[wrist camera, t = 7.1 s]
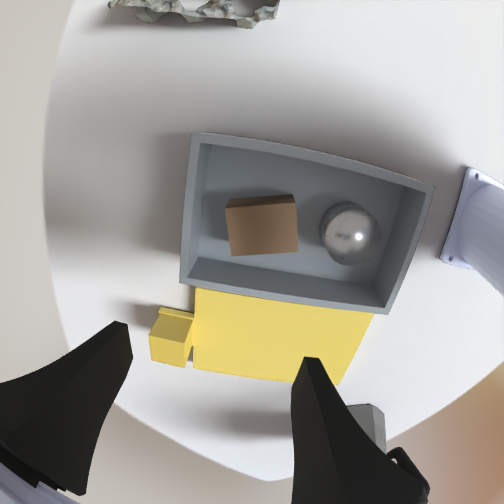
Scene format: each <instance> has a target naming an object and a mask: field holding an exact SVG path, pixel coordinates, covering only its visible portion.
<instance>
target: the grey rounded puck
mask: <svg viewBox="0 0 504 504" xmlns="http://www.w3.org/2000/svg"><path fill="white" fill-rule="evenodd" d="M319 230H320V236H321V238H322V241H323V243H324V245H325V247H326V250H327V252H328V254H329V255H330V257H331V258H332V259H333V260H334V261H336V262H337V263H339V264H341V265H344V266H357V265H360V264H363V263H365V262H366V261H368V260H369V259H370V258H372V257H373V255H374V254H375V253H376V251H377V250H378V248H379V245H380V242H381V229H380V226H379V224H378V222H377V220H376V219H375V218H374V217H373V216H372V215H371V214H370V213H368V212H367V211H366V210H365V209H364V208H363V207H362V206H360V205H359V204H357V203H354V202H350V201H343V202H339V203H336V204H334V205H332V206H331V207H329V208H328V209H327V210H326V212H325V213H324V214H323V216H322V218H321V221H320V226H319Z"/></svg>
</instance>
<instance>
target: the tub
mask: <svg viewBox="0 0 504 504" xmlns="http://www.w3.org/2000/svg"><path fill="white" fill-rule="evenodd" d="M434 189H435V187H433V186H430V185H428V184H426V183H423V182H421V181H419V180H416V179H414V178H411V177H409V176H406V175H403V174H400V173H397V172H393V171H390V170H387V169H384V168H381V167H377V166H374V165H370V164H367V163H363V162H360V161H356V160H352V159H349V158H345V157H341V156H337V155H333V154H329V153H324V152H320V151H316V150H311V149H307V148H302V147H297V146H292V145H287V144H282V143H277V142H271V141H265V140H259V139H253V138H246V137H240V136H232V135H225V134H217V133H208V132H198V133H192V137H191V144H190V152H189V161H188V169H187V178H186V188H185V199H184V210H183V223H182V237H181V254H180V275H179V283H182V284H187V285H192V286H197V287H202V288H208V289H213V290H219V291H224V292H230V293H236V294H241V295H247V296H253V297H259V298H266V299H272V300H278V301H285V302H291V303H298V304H305V305H312V306H319V307H327V308H334V309H342V310H350V311H358V312H367V313H375V314H385V315H388V314H389V312H390V310H391V307H392V305H393V303H394V301H395V299H396V296H397V294H398V292H399V290H400V287H401V285H402V283H403V280H404V278H405V275H406V273H407V270H408V268H409V265H410V263H411V260H412V257H413V255H414V252H415V249H416V247H417V244H418V241H419V238H420V235H421V232H422V229H423V226H424V223H425V220H426V217H427V213H428V210H429V207H430V203H431V200H432V196H433V192H434ZM290 194H293V196H294V199H295V202H296V213H297V233H298V252H291V253H276V254H262V255H247V256H233V257H231V250H230V243H229V236H228V229H227V221H226V214H225V207H226V205H227V204H228V202H229V200H230V199H239V198H250V197H262V196H275V195H290ZM343 201H350V202H354V203H357V204H359V205H360V206H362V207H363V208H364V209H365V210H366V211H367V212H368V213H370V214H371V215H372V216H373V217H374V218H375V219H376V220H377V222H378V224H379V226H380V229H381V242H380V245H379V248H378V250H377V251H376V253H375V254H374V255H373V257H372V258H370V259H369V260H368V261H366V262H365V263H363V264H360V265H357V266H344V265H341V264H339V263H337V262H336V261H334V260H333V259H332V258H331V257H330V255H329V254H328V252H327V250H326V247H325V245H324V243H323V241H322V238H321V236H320V230H319V226H320V221H321V218H322V216H323V214H324V213H325V212H326V210H327V209H328V208H329V207H331V206H332V205H334V204H336V203H339V202H343Z"/></svg>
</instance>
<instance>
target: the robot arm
mask: <svg viewBox="0 0 504 504" xmlns="http://www.w3.org/2000/svg"><path fill="white" fill-rule="evenodd" d="M475 174H476V177H475ZM450 256H451V257H450ZM449 257H450V259H449ZM440 259H441V261H442V262H444V263H447V264H451V265H456V266H460V267H464V268H468V269H473V270H476V271H477V272H478V273H479V274H481V275H482V276H483V277H484V278H485V279H486V280H487V281H488V282H489V283H490V284H491V285H492V286H493V287H494V288H495V289H497V290H498V291H499V292H500V293H501V294H502V295H503V296H504V185H503V184H501V183H499V182H498V181H496V180H494V179H492V178H491V177H489V176H487V175H485V174H483V173H482V172H480V171H478V170H476V169H474V168H471V167H469V168H468V169H467V171H466V174H465V179H464V183H463V187H462V190H461V194H460V198H459V201H458V205H457V208H456V212H455V215H454V218H453V221H452V224H451V227H450V230H449V233H448V236H447V239H446V242H445V245H444V247H443V250H442V253H441V256H440ZM132 360H133V354H132V349H131V343H130V338H129V331H128V325H127V324H125V323H121V322H118V321H114V322H112V323H111V324H109V325H108V326H106V327H105V328H104V329H102V330H101V331H99V332H98V333H97V334H95V335H94V336H93V337H91V338H90V339H88V340H87V341H85V342H84V343H83V344H81V345H80V346H78V347H77V348H75V349H74V350H72V351H71V352H69V353H67V354H66V355H65V356H63V357H61V358H60V359H58V360H56V361H54V362H53V363H51V364H49V365H47V366H45V367H43V368H41V369H39V370H37V371H34V372H32V373H29V374H27V375H24V376H22V377H19V378H16V379H13V380H10V381H6V382H3V383H0V504H79V503H78V502H76V501H74V500H72V499H70V498H68V497H66V496H64V495H63V494H61V493H59V492H57V489H58V488H59V489H60V490H62V491H66V490H68V491H70V492H72V493H74V494H76V495H78V496H81V495H84V494H86V488H87V481H88V475H89V470H90V466H91V461H92V457H93V453H94V449H95V446H96V443H97V439H98V436H99V433H100V430H101V427H102V425H103V422H104V420H105V418H106V415H107V413H108V411H109V409H110V408H111V406H112V404H113V402H114V400H115V398H116V396H117V394H118V392H119V390H120V388H121V386H122V384H123V382H124V380H125V378H126V376H127V373H128V371H129V368H130V365H131V363H132ZM291 419H292V432H293V444H294V479H293V492H292V502H291V504H427V503H428V499H427V494H426V490H425V486H424V483H423V482H421V481H420V480H418V479H417V478H415V477H414V476H412V475H411V474H409V473H408V472H406V471H405V470H404V469H402V468H401V467H400V466H399V465H397V464H396V463H395V462H394V461H392V460H391V459H390V458H389V457H388V456H387V455H386V454H385V453H384V452H383V451H382V450H381V449H380V448H379V447H378V446H377V445H376V444H375V443H374V442H373V441H372V440H371V439H370V437H369V436H368V435H367V434H366V433H365V431H364V430H363V429H362V428H361V426H360V425H359V424H358V423H357V421H356V420H355V418H354V417H353V415H352V414H351V413H350V411H349V410H348V408H347V407H346V405H345V403H344V402H343V400H342V399H341V397H340V395H339V394H338V392H337V390H336V388H335V387H334V385H333V383H332V381H331V379H330V378H329V376H328V374H327V372H326V370H325V368H324V366H323V364H322V362H321V360H320V359H319V358H315V357H305V356H304V358H303V361H302V363H301V366H300V368H299V371H298V373H297V376H296V378H295V381H294V383H293V386H292V392H291Z"/></svg>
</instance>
